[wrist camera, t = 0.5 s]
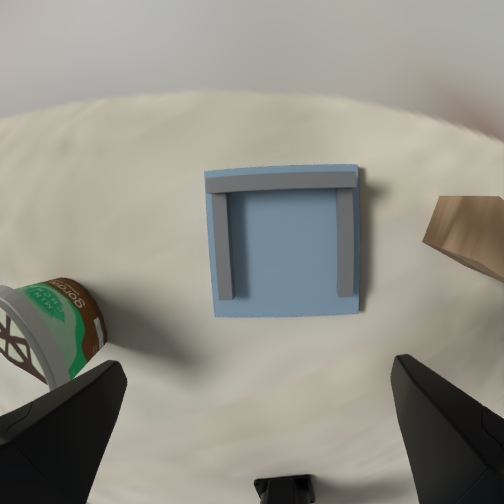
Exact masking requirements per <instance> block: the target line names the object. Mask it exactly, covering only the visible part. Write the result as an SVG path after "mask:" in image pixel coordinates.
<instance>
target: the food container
mask: <svg viewBox="0 0 504 504" xmlns="http://www.w3.org/2000/svg"><path fill="white" fill-rule="evenodd" d="M106 342H107V332H106V328H105V324H104V319H103V316H102V314H101V312H100V310H99V308H98V306H97V303H96V302H95V300H94V299H93V298H92V297H91V295H90V294H89V293H88V291H87V290H86V289H85V288H84V287H82V286H81V285H80V284H79V283H77V282H76V281H74V280H71V279H69V278H57V279H53V280H49V281H45V282H41V283H37V284H33V285H29V286H25V287H21V288H17V289H12V288H10V287H8V286H4V285H0V352H1V353H2V354H3V355H4V356H5V357H6V358H7V360H9V361H10V362H12V363H13V364H15V365H16V366H18V367H20V368H21V369H23V370H25V371H27V372H28V373H30V374H32V375H33V376H35V377H36V378H38V379H39V380H41V381H42V382H44V383H45V384H47V385H48V387H49V390H50V391H52V390H54V389H56V388H58V387H60V386H62V385H63V384H65V383H67V382H69V381H71V380H72V379H73V378H74V377H75V376H76V375H77V374H78V373H79V371H80V370H81V369H82V368H83V367H84V366H85V365H86V364H87V363H88V362H89V361H90V360H91V358H92V357H93V356H94V355H95V354H96V353H97V352H98V351H99V350H100V349H101V348H102V347H103V346H104V345H105V343H106Z"/></svg>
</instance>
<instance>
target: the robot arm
mask: <svg viewBox="0 0 504 504" xmlns="http://www.w3.org/2000/svg"><path fill="white" fill-rule="evenodd" d="M391 385H392V390H393V396H394V401H395V407H396V412H397V418H398V423H399V426H400V430H401V433H402V437H403V440H404V444H405V447H406V451H407V455H408V458H409V462H410V466H411V470H412V474H413V478H414V482H415V486H416V490H417V495H418V499H419V504H504V419H503V418H502V417H500V416H499V415H497V414H496V413H494V412H493V411H491V410H490V409H488V408H487V407H485V406H483V405H482V404H481V403H479V402H478V401H476V400H475V399H473V398H472V397H470V396H469V395H468V394H466V393H465V392H463V391H462V390H460V389H459V388H457V387H456V386H454V385H453V384H451V383H450V382H449V381H447V380H446V379H444V378H443V377H441V376H440V375H438V374H437V373H435V372H434V371H432V370H431V369H429V368H428V367H427V366H425V365H424V364H422V363H421V362H419V361H418V360H416V359H415V358H413V357H412V356H410V355H409V354H402V355H397V356H396V357H395V358H394V362H393V367H392V372H391ZM126 387H127V378H126V375H125V373H124V371H123V368H122V366H121V364H120V363H119V362H118V361H114V360H107V361H105V362H104V363H102V364H100V365H98V366H96V367H95V368H93V369H91V370H89V371H87V372H85V373H84V374H82V375H80V376H78V377H76V378H74V379H73V380H71V381H69V382H67V383H65V384H63V385H62V386H60V387H58V388H56V389H54V390H52V391H50V392H49V393H47V394H45V395H43V396H41V397H39V398H37V399H35V400H34V401H31V402H30V403H28V404H26V405H24V406H22V407H20V408H18V409H16V410H14V411H11V412H9V413H7V414H4V415H2V416H0V504H86V502H87V499H88V496H89V493H90V490H91V487H92V484H93V482H94V479H95V476H96V473H97V470H98V468H99V465H100V462H101V460H102V457H103V454H104V452H105V449H106V446H107V444H108V441H109V439H110V436H111V434H112V431H113V429H114V426H115V423H116V421H117V418H118V415H119V411H120V408H121V404H122V401H123V397H124V394H125V390H126ZM254 486H255V488H256V491H257V493H258V495H259V497H260V499H261V501H260V504H311V503H314V502H315V496H314V491H313V486H312V481H311V477H310V476H309V475H304V476H295V477H285V478H273V479H257V480H254Z"/></svg>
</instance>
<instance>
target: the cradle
mask: <svg viewBox="0 0 504 504" xmlns="http://www.w3.org/2000/svg"><path fill="white" fill-rule="evenodd" d="M204 174H205V194H206V211H207V227H208V242H209V256H210V269H211V281H212V292H213V303H214V314H215V317H289V316H320V315H341V314H358V307H359V285H360V204H359V182H358V166H357V165H354V164H335V165H291V166H269V167H252V168H237V169H225V170H213V171H204Z"/></svg>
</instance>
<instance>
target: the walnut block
mask: <svg viewBox="0 0 504 504" xmlns="http://www.w3.org/2000/svg"><path fill="white" fill-rule="evenodd" d="M422 242H423V243H425V244H427V245H429V246H431V247H432V248H434V249H436V250H438V251H440V252H442V253H443V254H445V255H447V256H449V257H450V258H452V259H454V260H456V261H457V262H459V263H461V264H462V265H464V266H467V267H469V268H471V269H474V270H476V271H478V272H481V273H483V274H485V275H488V276H490V277H492V278H495V279H497V280H499V281H501V282H503V283H504V200H503V199H502V198H500V197H499V196H439V199H438V202H437V204H436V207H435V210H434V213H433V215H432V218H431V221H430V223H429V226H428V229H427V231H426V234H425V236H424V239H423V241H422Z"/></svg>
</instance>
